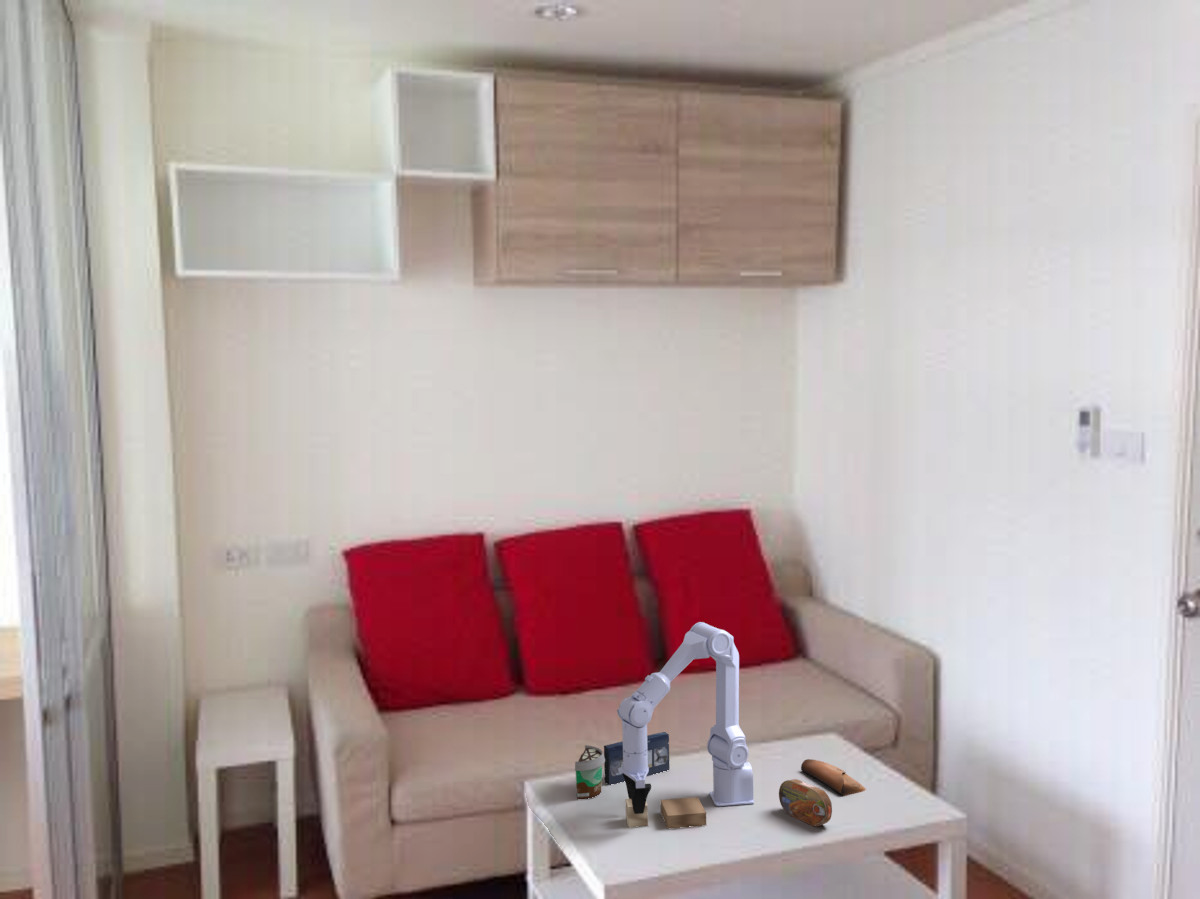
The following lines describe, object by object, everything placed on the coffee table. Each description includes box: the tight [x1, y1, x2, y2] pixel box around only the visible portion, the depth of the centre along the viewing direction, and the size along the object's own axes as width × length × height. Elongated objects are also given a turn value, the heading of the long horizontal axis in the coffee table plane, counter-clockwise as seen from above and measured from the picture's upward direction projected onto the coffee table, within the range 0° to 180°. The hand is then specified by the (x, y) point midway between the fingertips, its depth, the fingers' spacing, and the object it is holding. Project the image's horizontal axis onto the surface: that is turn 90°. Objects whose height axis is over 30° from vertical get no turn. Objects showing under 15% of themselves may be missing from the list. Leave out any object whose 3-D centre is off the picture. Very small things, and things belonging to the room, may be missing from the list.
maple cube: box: [625, 798, 649, 828], centre depth 258 cm, size 4×4×5 cm
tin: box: [778, 778, 833, 827], centre depth 258 cm, size 15×3×8 cm, turn 35°
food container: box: [574, 744, 605, 800], centre depth 276 cm, size 12×6×10 cm, turn 168°
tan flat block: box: [660, 796, 707, 829], centre depth 260 cm, size 9×9×4 cm
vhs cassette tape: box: [603, 731, 670, 786], centre depth 285 cm, size 18×3×10 cm, turn 118°
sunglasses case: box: [800, 758, 867, 797], centre depth 279 cm, size 18×7×7 cm
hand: (636, 806), depth 258 cm, fingers open, 7 cm apart
